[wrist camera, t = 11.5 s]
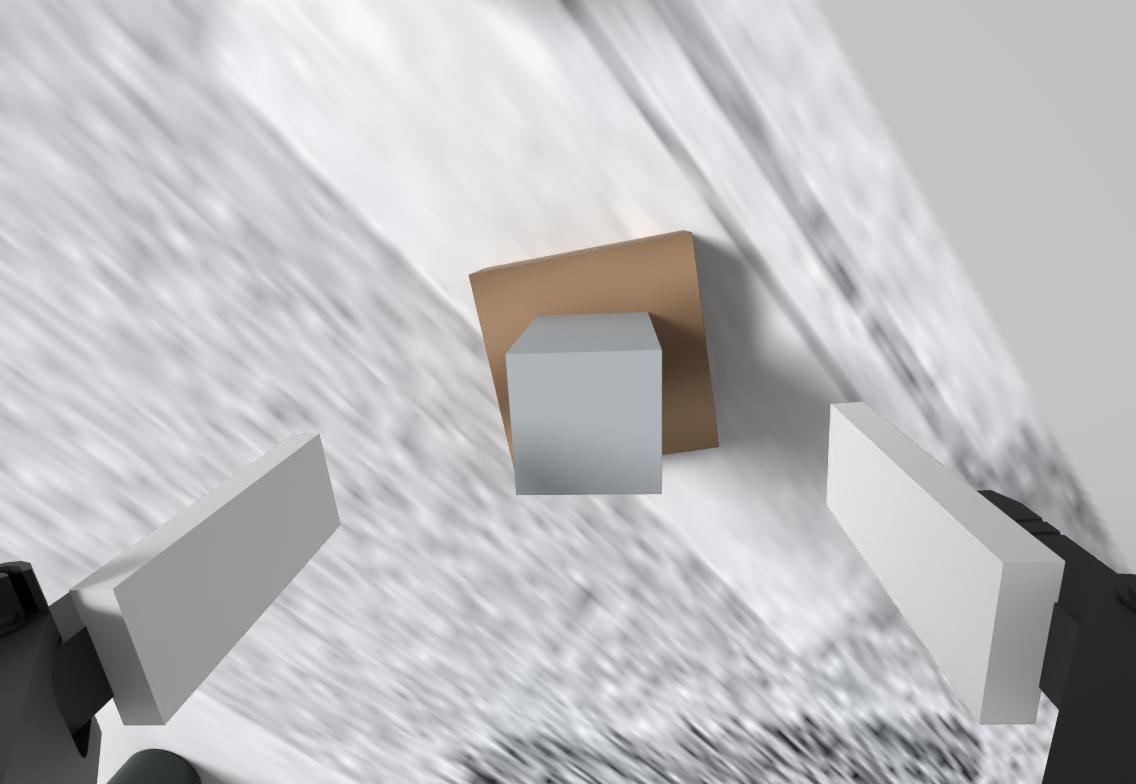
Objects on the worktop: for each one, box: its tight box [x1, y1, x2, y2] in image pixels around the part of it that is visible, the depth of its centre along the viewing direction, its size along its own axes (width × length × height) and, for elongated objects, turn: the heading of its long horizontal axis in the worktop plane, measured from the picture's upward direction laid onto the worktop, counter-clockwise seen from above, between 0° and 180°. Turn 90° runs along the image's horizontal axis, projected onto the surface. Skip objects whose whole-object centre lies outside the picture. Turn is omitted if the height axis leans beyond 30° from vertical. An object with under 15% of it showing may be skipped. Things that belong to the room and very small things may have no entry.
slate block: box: [506, 312, 662, 495], centre depth 23 cm, size 5×5×8 cm
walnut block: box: [469, 230, 719, 467], centre depth 29 cm, size 10×10×4 cm
